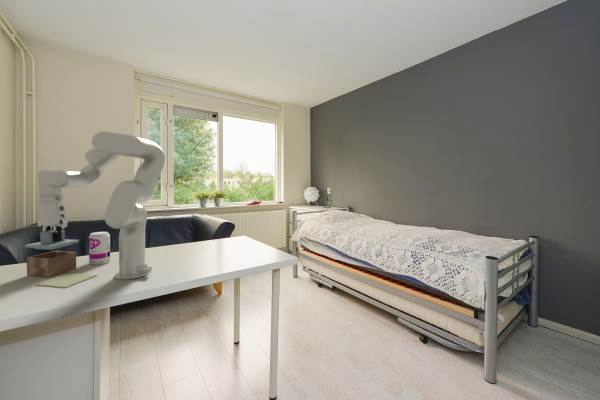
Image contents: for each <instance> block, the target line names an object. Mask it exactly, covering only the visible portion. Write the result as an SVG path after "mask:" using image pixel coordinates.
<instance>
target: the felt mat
mask: <svg viewBox="0 0 600 400" xmlns="http://www.w3.org/2000/svg"><path fill="white" fill-rule="evenodd" d="M95 277H97V274H90V273H89V274H88V273H79V272H67V273H64V274H61V275H58V276H55V277H52V278H49V279H48V280H44V281H42V282H39V283H35V286H40V287H52V288H62V289H67V288H70V287H72V286H74V285H77V284H80V283H83V282H85V281H87V280H91V279H93V278H95Z"/></svg>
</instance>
